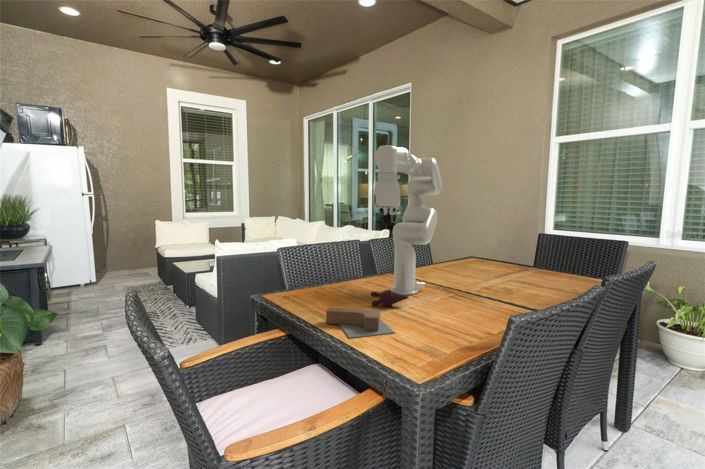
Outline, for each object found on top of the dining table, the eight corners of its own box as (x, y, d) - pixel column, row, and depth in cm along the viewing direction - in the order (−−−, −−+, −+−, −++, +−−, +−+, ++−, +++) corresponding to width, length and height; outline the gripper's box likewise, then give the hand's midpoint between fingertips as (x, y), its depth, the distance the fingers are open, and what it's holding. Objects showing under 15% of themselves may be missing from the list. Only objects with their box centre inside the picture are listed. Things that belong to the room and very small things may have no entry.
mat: (373, 313, 132) (373, 312, 132) (394, 333, 113) (394, 332, 113) (334, 317, 128) (334, 316, 128) (349, 338, 109) (349, 337, 109)
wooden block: (378, 317, 113) (322, 315, 115) (378, 331, 113) (323, 328, 116) (380, 308, 122) (328, 306, 124) (380, 321, 122) (328, 319, 125)
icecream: (408, 288, 144) (371, 290, 146) (408, 288, 137) (369, 290, 139) (409, 305, 143) (372, 307, 145) (409, 306, 136) (370, 308, 138)
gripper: (400, 178, 144) (400, 223, 146) (366, 178, 140) (365, 224, 142) (408, 177, 137) (408, 225, 139) (372, 177, 133) (372, 226, 135)
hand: (386, 224), depth 141 cm, fingers closed
